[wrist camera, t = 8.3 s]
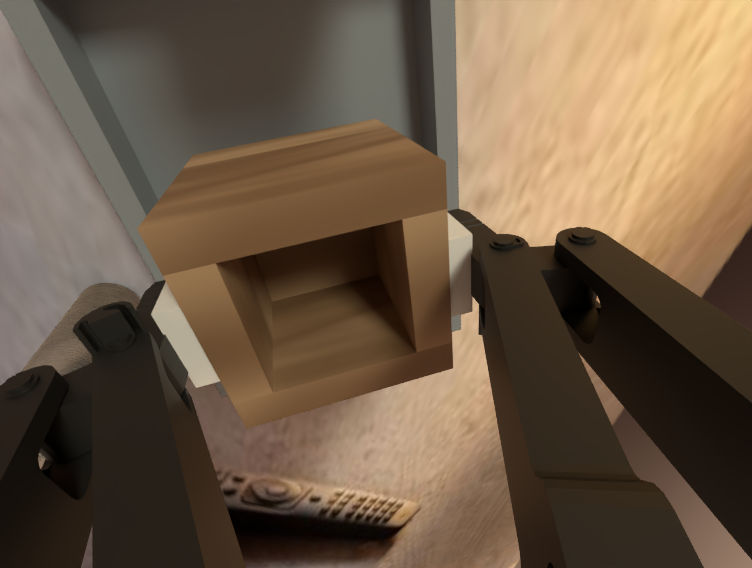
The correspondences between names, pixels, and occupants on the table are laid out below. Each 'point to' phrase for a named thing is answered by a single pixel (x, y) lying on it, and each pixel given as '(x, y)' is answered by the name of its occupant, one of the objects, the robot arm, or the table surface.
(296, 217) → the bored block
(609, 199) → the table surface
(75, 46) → the tray
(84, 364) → the pin
